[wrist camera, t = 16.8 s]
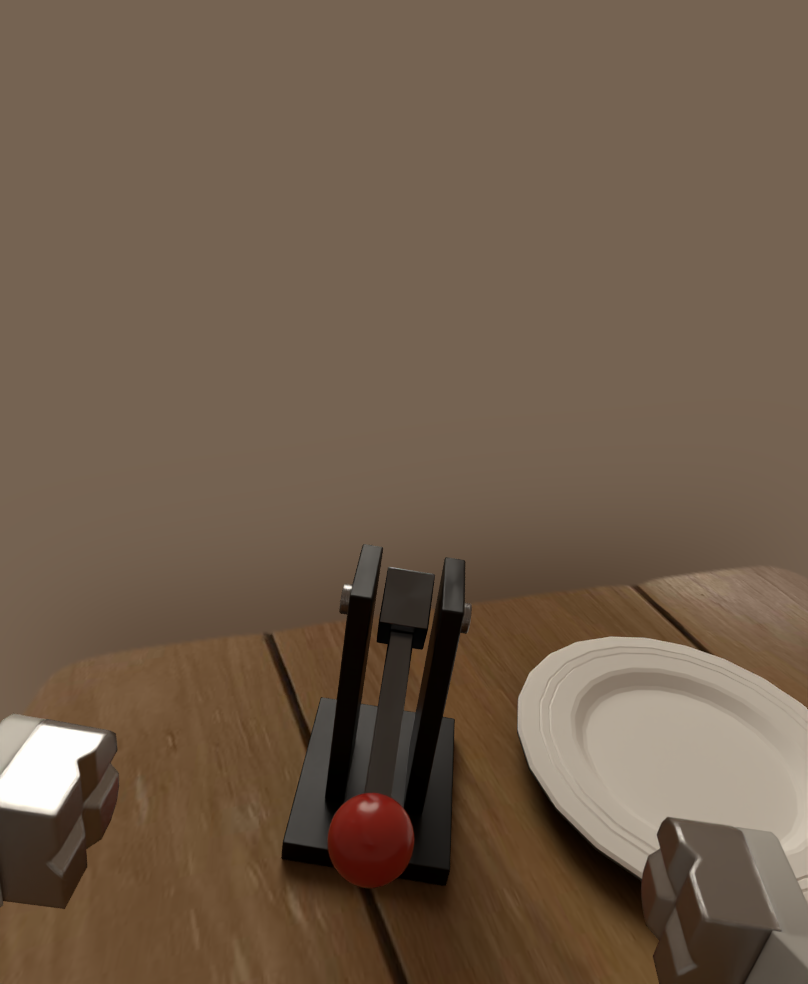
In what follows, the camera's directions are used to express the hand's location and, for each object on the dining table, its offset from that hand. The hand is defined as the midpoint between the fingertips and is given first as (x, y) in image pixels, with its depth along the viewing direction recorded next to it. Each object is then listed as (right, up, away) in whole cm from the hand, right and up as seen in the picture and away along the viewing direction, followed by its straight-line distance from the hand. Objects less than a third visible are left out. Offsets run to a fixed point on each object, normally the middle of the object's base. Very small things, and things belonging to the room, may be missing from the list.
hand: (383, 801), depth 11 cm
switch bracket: (-1, -11, +29) cm, 31 cm away
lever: (0, -6, +22) cm, 23 cm away
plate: (+17, -12, +34) cm, 40 cm away
